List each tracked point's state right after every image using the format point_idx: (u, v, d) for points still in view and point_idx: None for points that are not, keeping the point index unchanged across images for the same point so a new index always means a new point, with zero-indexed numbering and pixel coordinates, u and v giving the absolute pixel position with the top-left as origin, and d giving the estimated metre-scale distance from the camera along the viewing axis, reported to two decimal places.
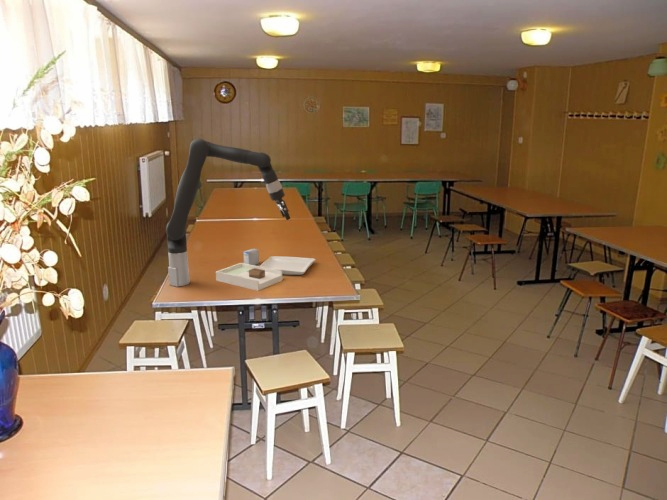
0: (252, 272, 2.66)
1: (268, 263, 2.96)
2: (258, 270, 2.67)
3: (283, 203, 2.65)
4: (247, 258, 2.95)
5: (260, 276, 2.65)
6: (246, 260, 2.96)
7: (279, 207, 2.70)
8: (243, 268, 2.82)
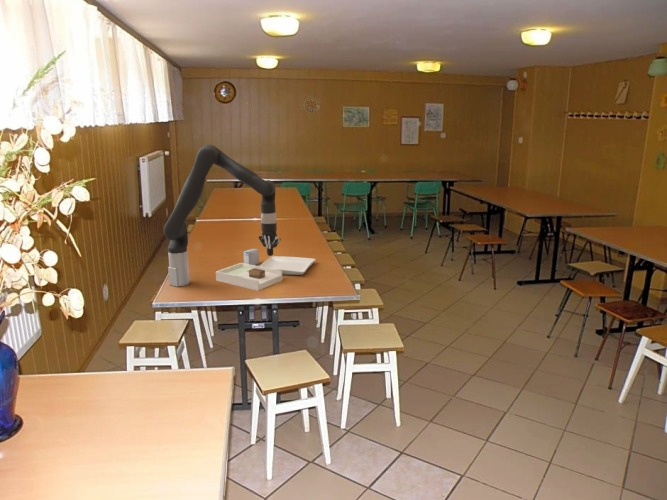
0: (252, 272, 2.66)
1: (268, 263, 2.96)
2: (258, 270, 2.67)
3: (278, 241, 2.55)
4: (247, 258, 2.95)
5: (260, 276, 2.65)
6: (246, 260, 2.96)
7: (268, 240, 2.56)
8: (243, 268, 2.82)
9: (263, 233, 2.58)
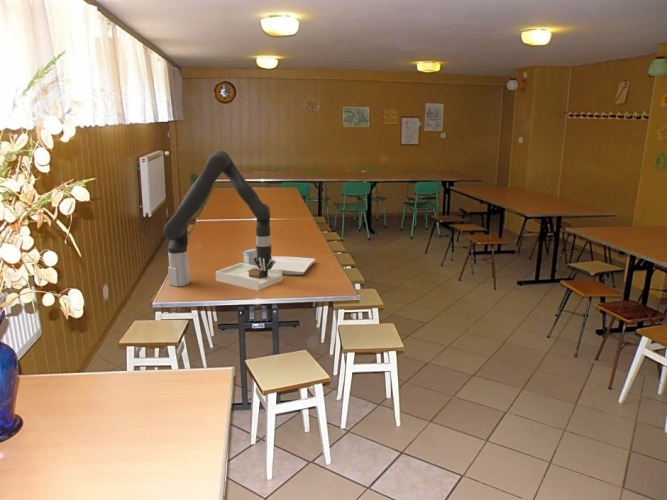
0: (252, 272, 2.66)
1: None
2: (258, 270, 2.67)
3: (273, 263, 2.60)
4: (247, 258, 2.95)
5: (259, 276, 2.65)
6: (246, 260, 2.96)
7: (263, 262, 2.61)
8: (243, 268, 2.82)
9: (258, 255, 2.63)
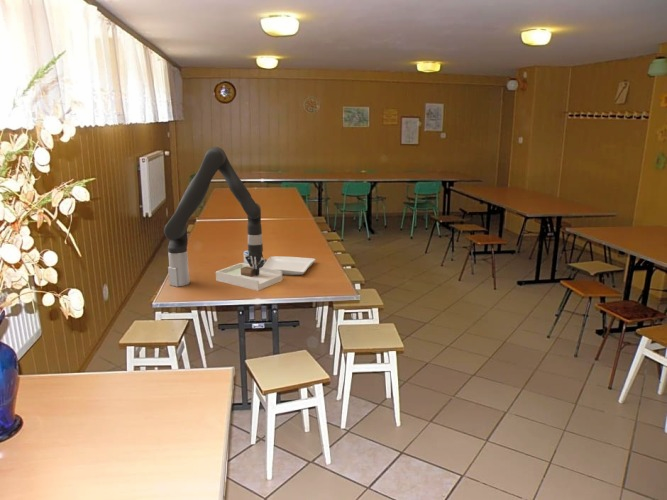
0: (244, 270, 2.69)
1: (268, 263, 2.96)
2: (250, 268, 2.70)
3: (264, 261, 2.63)
4: None
5: (251, 274, 2.68)
6: (246, 260, 2.96)
7: (254, 260, 2.64)
8: None
9: (250, 254, 2.66)
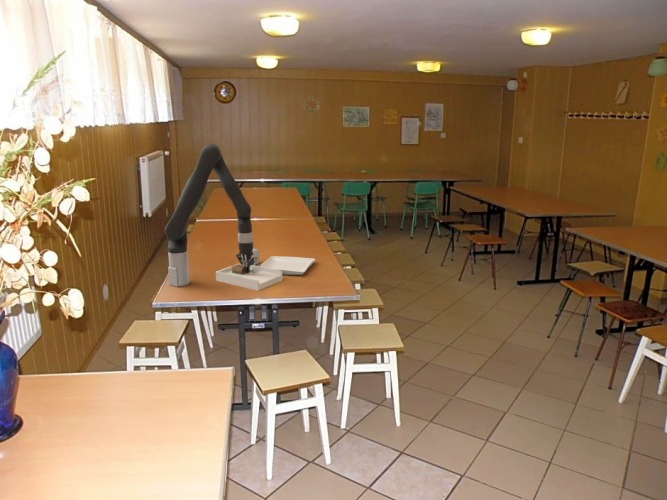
0: (235, 268, 2.73)
1: (268, 263, 2.96)
2: (241, 266, 2.74)
3: (255, 259, 2.66)
4: None
5: (242, 272, 2.72)
6: None
7: (244, 258, 2.68)
8: None
9: (240, 251, 2.69)
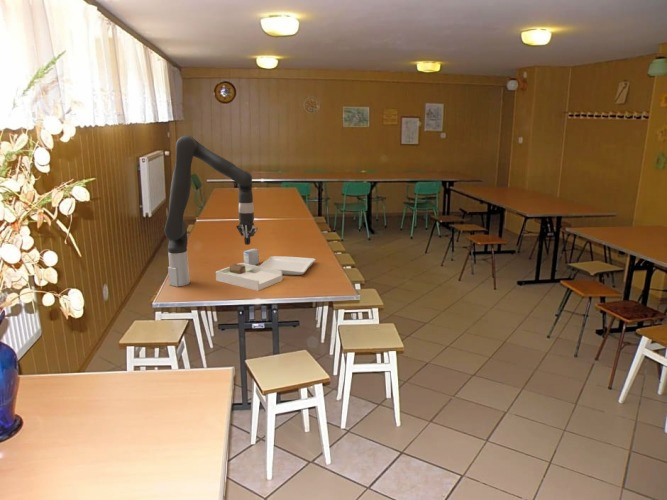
0: (233, 267, 2.74)
1: (268, 263, 2.96)
2: (239, 266, 2.75)
3: (255, 230, 2.62)
4: (247, 258, 2.95)
5: (240, 271, 2.73)
6: (246, 260, 2.96)
7: (245, 229, 2.63)
8: None
9: (241, 222, 2.65)
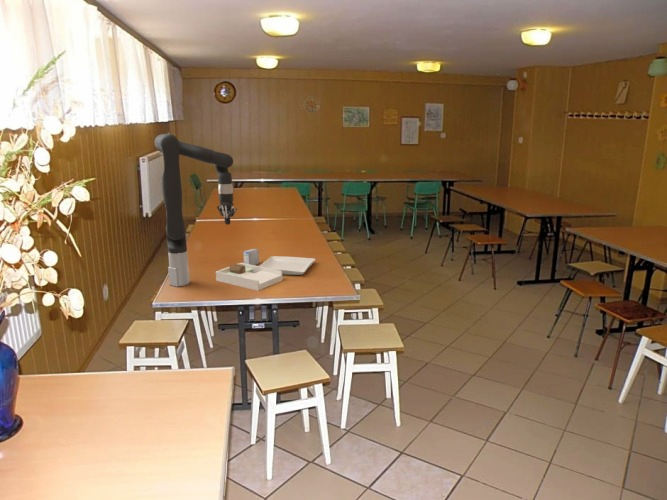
0: (233, 267, 2.74)
1: (268, 263, 2.96)
2: (239, 266, 2.75)
3: (235, 210, 2.74)
4: (247, 258, 2.95)
5: (240, 271, 2.73)
6: (246, 260, 2.96)
7: (225, 209, 2.75)
8: None
9: (221, 203, 2.77)
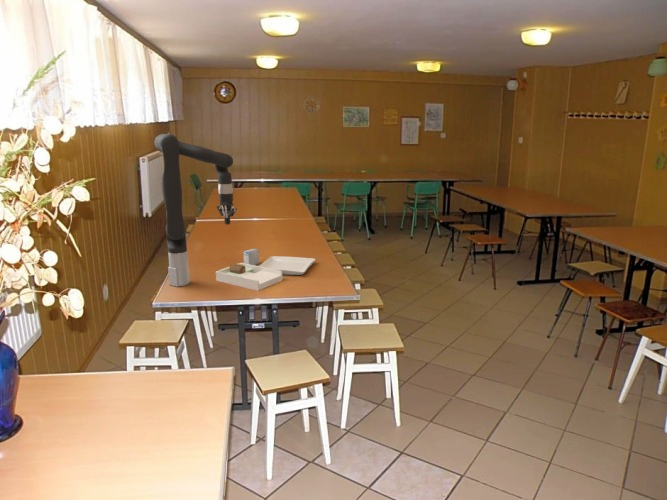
0: (233, 267, 2.74)
1: (268, 263, 2.96)
2: (239, 266, 2.75)
3: (234, 210, 2.74)
4: (247, 258, 2.95)
5: (240, 271, 2.73)
6: (246, 260, 2.96)
7: (225, 209, 2.75)
8: None
9: (221, 203, 2.77)
